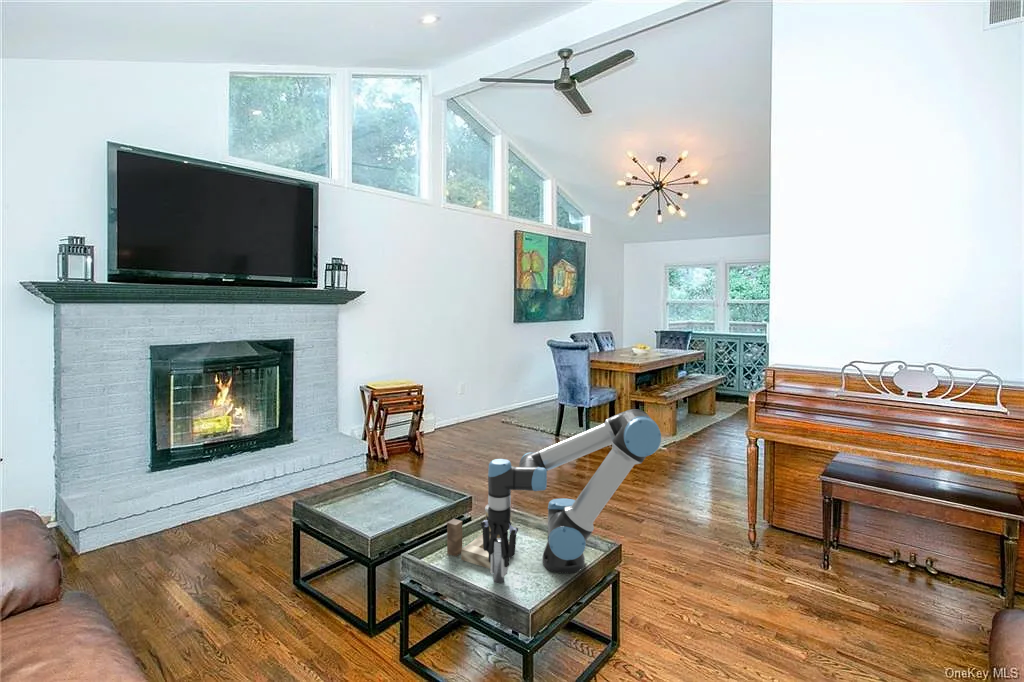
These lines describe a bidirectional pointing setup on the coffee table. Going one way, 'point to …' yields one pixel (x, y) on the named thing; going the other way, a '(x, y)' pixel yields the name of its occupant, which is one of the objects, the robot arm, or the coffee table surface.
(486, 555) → the bore block
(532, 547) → the coffee table surface
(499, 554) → the round peg
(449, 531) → the square peg
